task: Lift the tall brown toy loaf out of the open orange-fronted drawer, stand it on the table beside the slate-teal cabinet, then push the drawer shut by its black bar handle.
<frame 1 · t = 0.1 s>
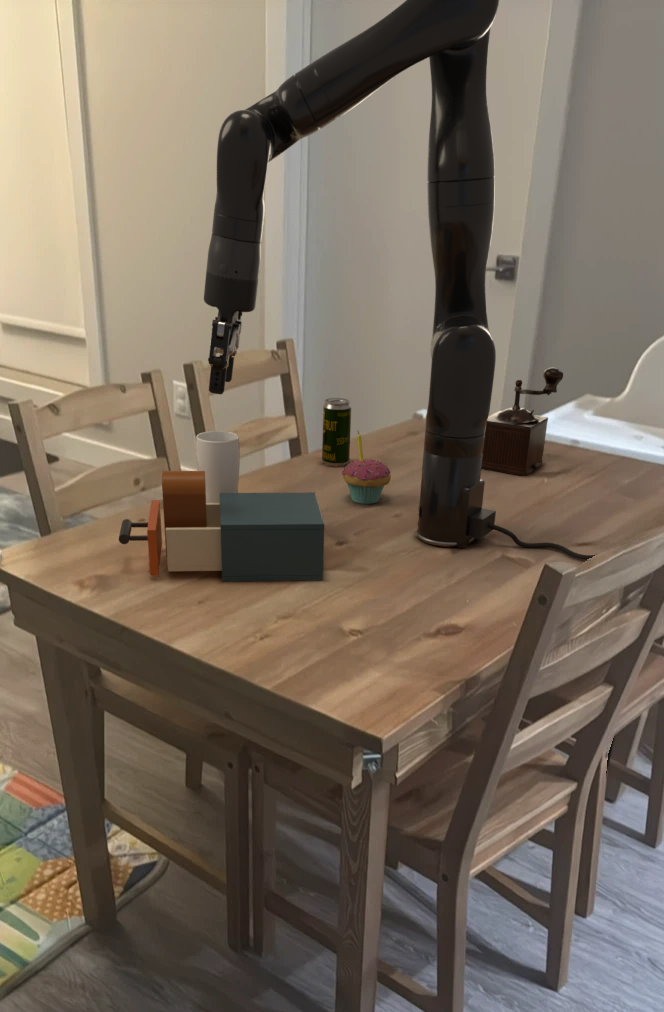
hand: (220, 386, 150), 22 cm above the table, tool pointing down, fingers open, 8 cm apart
drawer: (182, 536, 145), point 4 cm above the table, slide at 9.0 cm, touching bread
cupcake: (365, 500, 176), on the table
cabinet: (270, 562, 149), on the table
bread: (187, 551, 147), point 2 cm above the table, touching drawer
manual coffee grinder: (515, 464, 198), on the table
beer can: (335, 464, 195), on the table
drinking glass: (220, 529, 161), on the table
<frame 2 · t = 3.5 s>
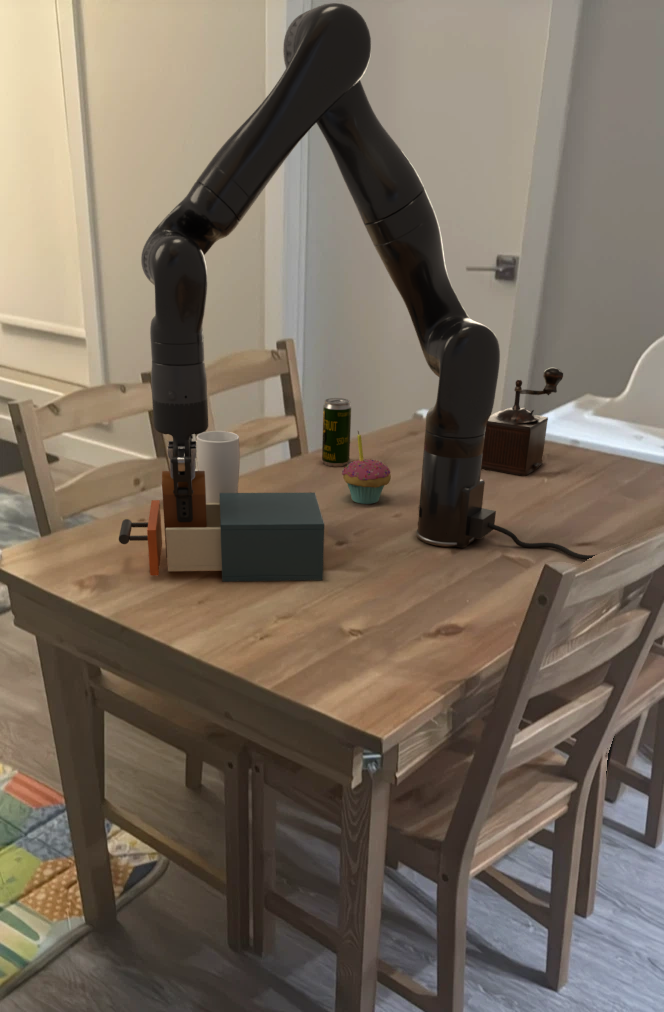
hand: (185, 514, 144), 8 cm above the table, tool pointing down, fingers closed on bread, 5 cm apart
bread: (187, 551, 147), point 2 cm above the table, touching drawer, gripper
everything else where it was.
when the fingers open (6 cm above the table, at t = 10.3 s): bread stays where it is, on the table.
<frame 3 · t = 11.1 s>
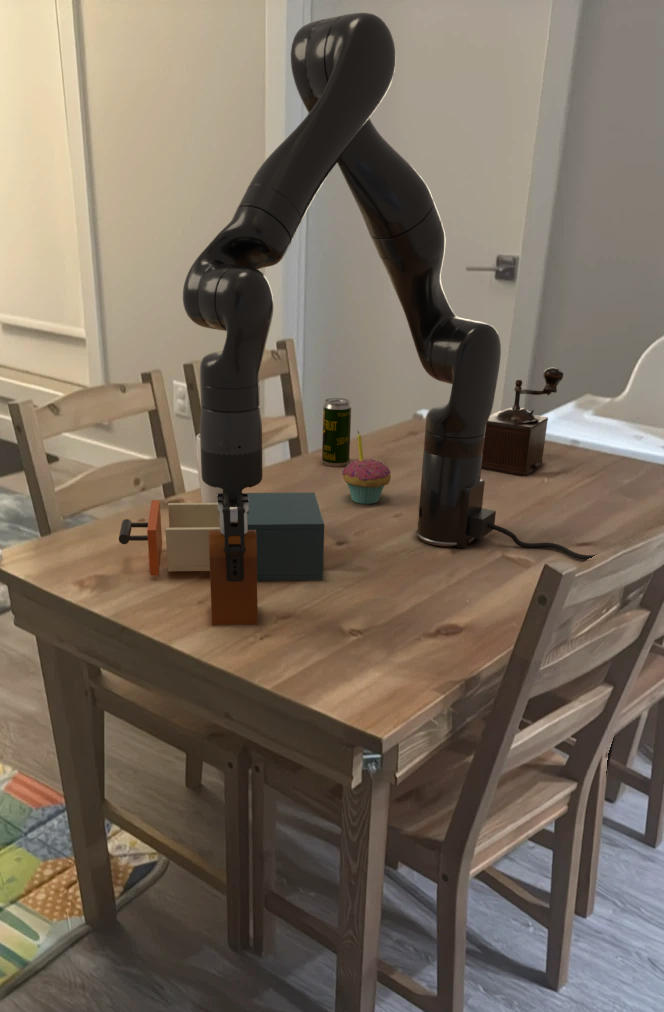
hand: (234, 567, 129), 7 cm above the table, tool pointing down, fingers open, 8 cm apart
drawer: (182, 536, 145), point 4 cm above the table, slide at 9.0 cm
bread: (234, 616, 132), on the table
everything else where it was.
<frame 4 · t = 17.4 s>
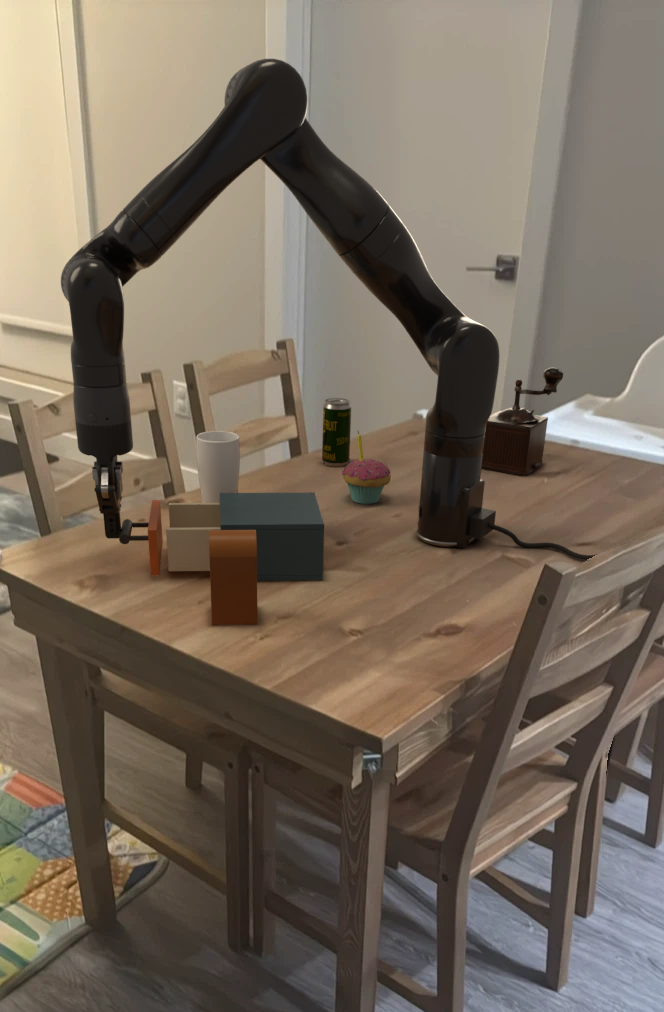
hand: (113, 536, 144), 4 cm above the table, tool pointing down, fingers closed
drawer: (182, 536, 145), point 4 cm above the table, slide at 8.9 cm, touching gripper
everything else where it was.
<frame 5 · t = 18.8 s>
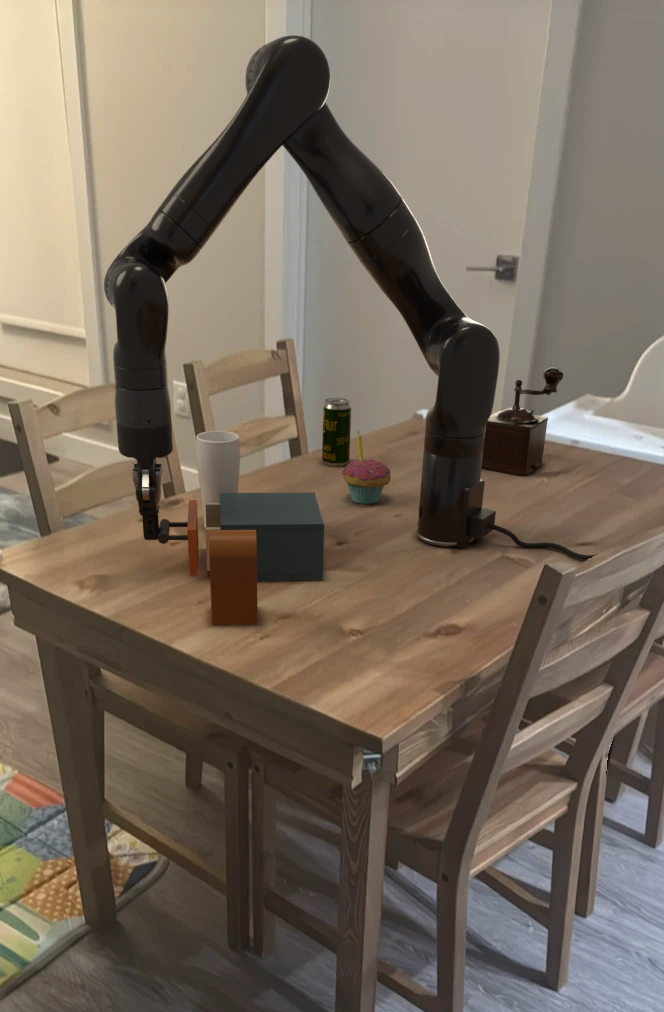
hand: (151, 538, 145), 4 cm above the table, tool pointing down, fingers closed
drawer: (220, 536, 146), point 4 cm above the table, slide at 3.4 cm, touching gripper
everything else where it was.
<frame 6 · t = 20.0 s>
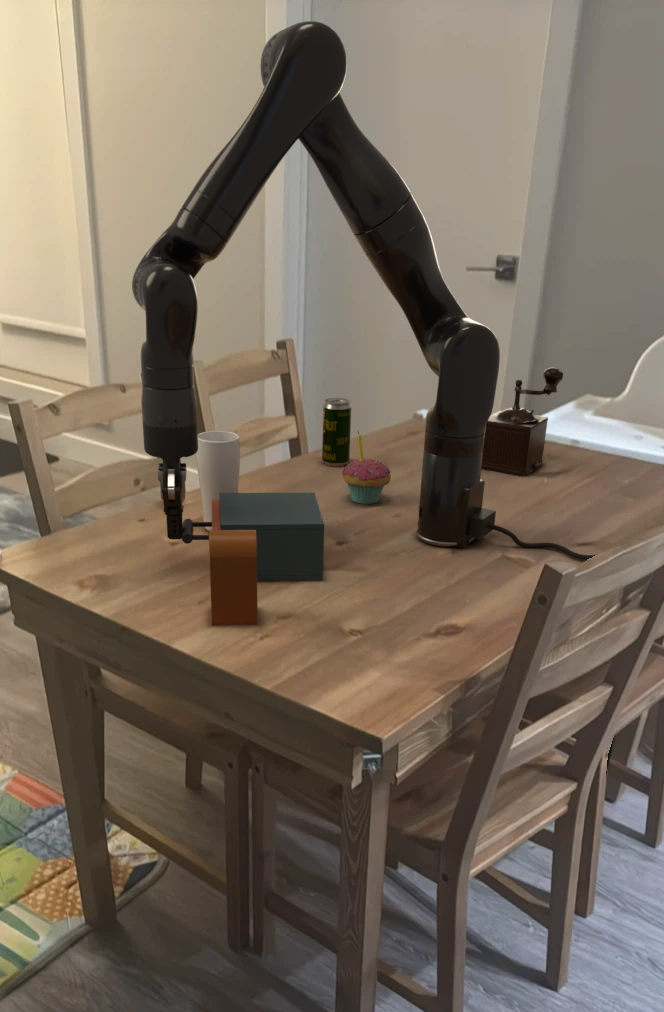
hand: (175, 537, 145), 4 cm above the table, tool pointing down, fingers closed
drawer: (243, 535, 146), point 4 cm above the table, slide at 0.0 cm, touching cabinet, gripper
everything else where it was.
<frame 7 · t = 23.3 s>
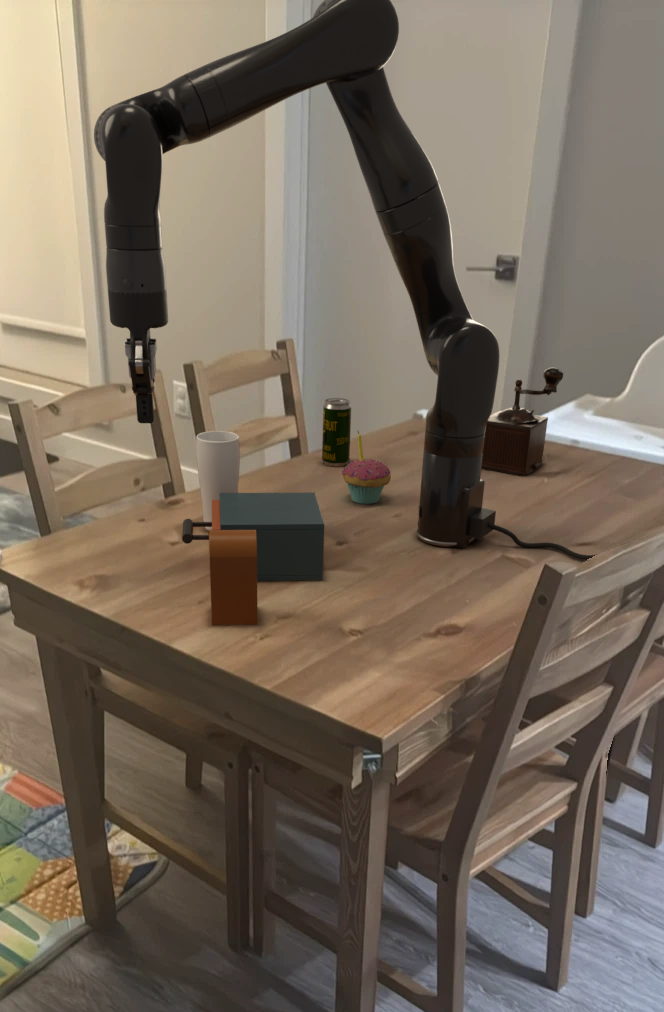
hand: (146, 421, 136), 21 cm above the table, tool pointing down, fingers closed
drawer: (243, 535, 146), point 4 cm above the table, slide at 0.0 cm
everything else where it was.
at the end: bread inside the target area (0.1 cm from its centre), on the table; bread tilted 0°; drawer slide at 0.0 cm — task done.
